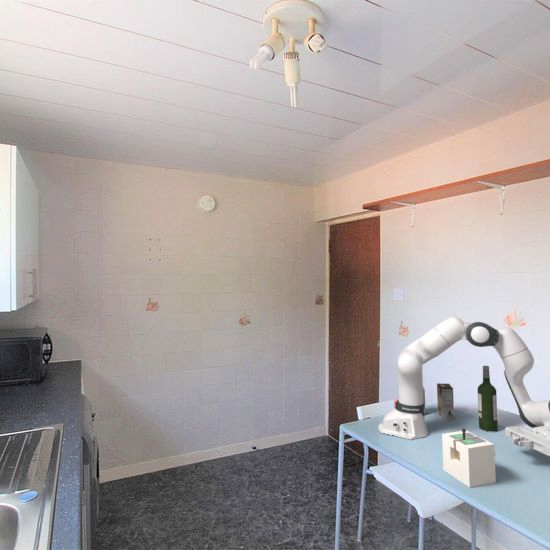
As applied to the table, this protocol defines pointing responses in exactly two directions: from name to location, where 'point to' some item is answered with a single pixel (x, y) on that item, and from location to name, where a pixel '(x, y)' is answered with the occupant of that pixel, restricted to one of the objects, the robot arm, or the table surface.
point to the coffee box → (445, 401)
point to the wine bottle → (487, 403)
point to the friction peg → (463, 439)
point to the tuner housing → (469, 458)
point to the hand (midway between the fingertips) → (516, 442)
